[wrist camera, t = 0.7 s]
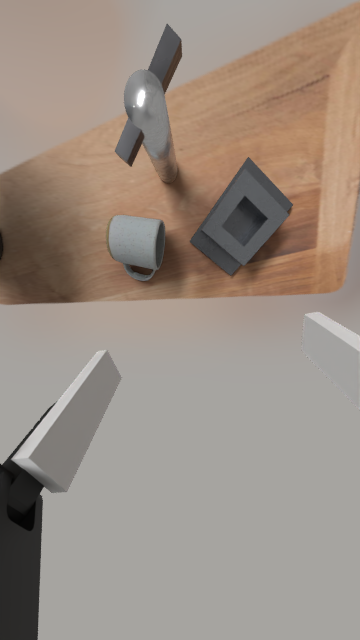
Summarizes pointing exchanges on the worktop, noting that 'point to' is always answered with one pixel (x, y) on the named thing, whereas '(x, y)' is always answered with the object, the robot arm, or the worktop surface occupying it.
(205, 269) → the worktop surface
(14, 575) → the robot arm
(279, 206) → the chuck block
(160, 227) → the ceramic mug
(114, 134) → the worktop surface
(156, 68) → the t key
